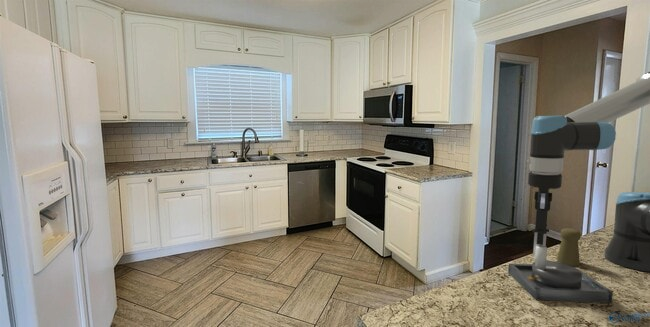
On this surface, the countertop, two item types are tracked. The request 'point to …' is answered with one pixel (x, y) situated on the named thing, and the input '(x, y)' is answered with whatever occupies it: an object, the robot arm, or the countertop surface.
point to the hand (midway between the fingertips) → (538, 253)
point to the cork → (569, 247)
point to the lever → (554, 271)
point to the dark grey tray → (540, 291)
